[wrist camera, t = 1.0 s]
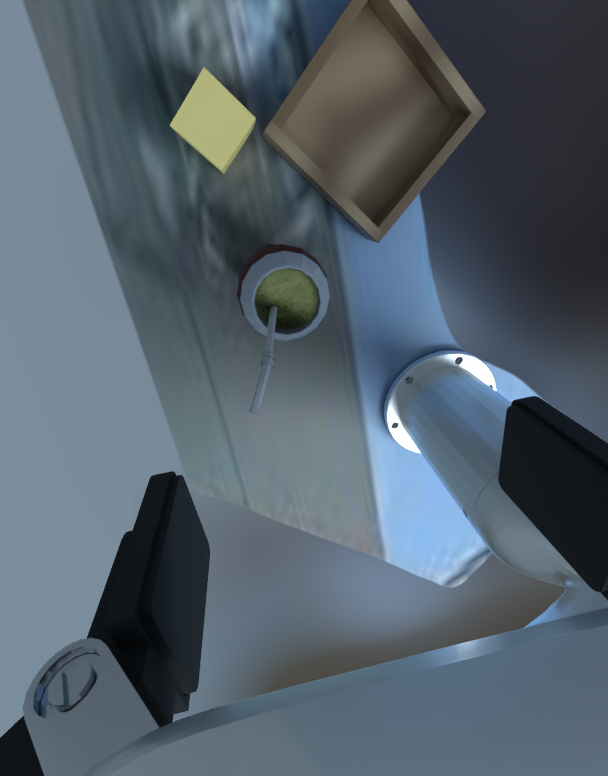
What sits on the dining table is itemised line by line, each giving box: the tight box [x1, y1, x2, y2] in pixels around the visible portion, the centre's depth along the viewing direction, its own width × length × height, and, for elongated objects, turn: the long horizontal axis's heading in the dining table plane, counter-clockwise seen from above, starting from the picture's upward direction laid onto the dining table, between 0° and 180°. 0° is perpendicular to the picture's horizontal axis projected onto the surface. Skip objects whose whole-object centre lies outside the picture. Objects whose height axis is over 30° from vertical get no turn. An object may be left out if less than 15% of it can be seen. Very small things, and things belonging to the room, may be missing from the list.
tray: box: [262, 0, 486, 242], centre depth 28 cm, size 12×12×3 cm
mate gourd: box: [237, 244, 330, 414], centre depth 27 cm, size 8×8×15 cm
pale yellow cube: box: [170, 67, 256, 174], centre depth 27 cm, size 4×4×4 cm
